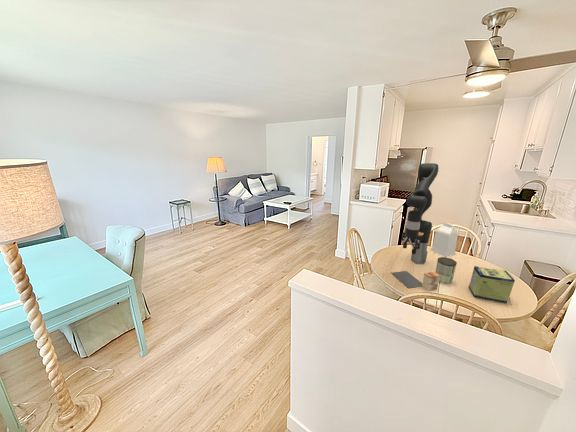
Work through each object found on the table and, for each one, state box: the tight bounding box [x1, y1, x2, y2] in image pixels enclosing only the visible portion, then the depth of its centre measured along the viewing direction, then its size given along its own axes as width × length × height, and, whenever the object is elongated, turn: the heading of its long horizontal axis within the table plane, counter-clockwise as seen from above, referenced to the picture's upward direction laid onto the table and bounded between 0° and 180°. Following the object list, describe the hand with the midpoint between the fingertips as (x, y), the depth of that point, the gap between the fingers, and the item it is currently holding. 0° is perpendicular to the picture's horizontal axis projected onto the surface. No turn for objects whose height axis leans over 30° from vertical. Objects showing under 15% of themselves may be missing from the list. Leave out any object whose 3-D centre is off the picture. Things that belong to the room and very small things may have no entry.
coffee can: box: [434, 256, 458, 285], centre depth 146 cm, size 10×10×14 cm
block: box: [421, 271, 440, 292], centre depth 138 cm, size 7×4×10 cm, turn 101°
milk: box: [430, 222, 459, 258], centre depth 180 cm, size 12×12×26 cm
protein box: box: [468, 265, 516, 304], centre depth 130 cm, size 10×16×16 cm
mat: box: [391, 270, 423, 289], centre depth 149 cm, size 12×18×1 cm, turn 10°
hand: (408, 250), depth 142 cm, fingers open, 8 cm apart
